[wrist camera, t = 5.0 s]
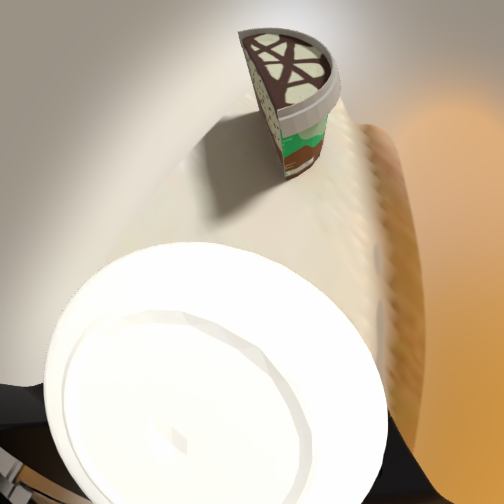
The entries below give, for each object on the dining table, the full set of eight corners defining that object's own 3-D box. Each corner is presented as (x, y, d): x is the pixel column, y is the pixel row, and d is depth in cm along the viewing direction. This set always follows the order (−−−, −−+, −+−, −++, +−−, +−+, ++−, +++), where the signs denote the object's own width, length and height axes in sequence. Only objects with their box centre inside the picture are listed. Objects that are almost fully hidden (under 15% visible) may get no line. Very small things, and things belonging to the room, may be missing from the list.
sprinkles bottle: (239, 393, 15) (67, 521, 2) (235, 316, 16) (31, 253, 3) (320, 388, 14) (375, 569, 1) (315, 309, 15) (377, 204, 3)
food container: (355, 177, 23) (375, 98, 14) (290, 194, 24) (279, 116, 15) (308, 89, 27) (303, 16, 18) (256, 102, 28) (236, 29, 18)
